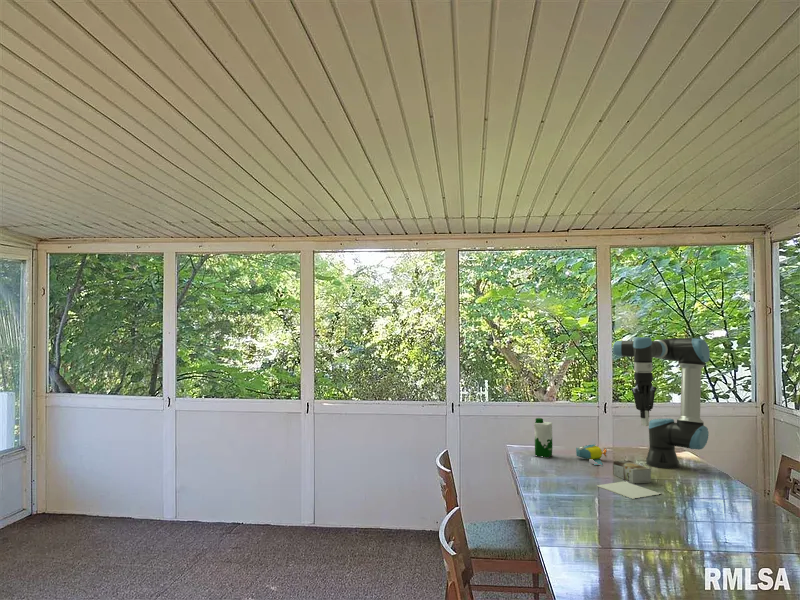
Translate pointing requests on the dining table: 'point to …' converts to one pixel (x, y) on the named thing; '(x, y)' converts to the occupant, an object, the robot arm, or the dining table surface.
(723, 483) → the dining table surface
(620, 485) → the mat
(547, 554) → the dining table surface
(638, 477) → the coffee box
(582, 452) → the yellow teal toy
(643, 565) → the dining table surface
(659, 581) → the dining table surface
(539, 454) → the milk carton
